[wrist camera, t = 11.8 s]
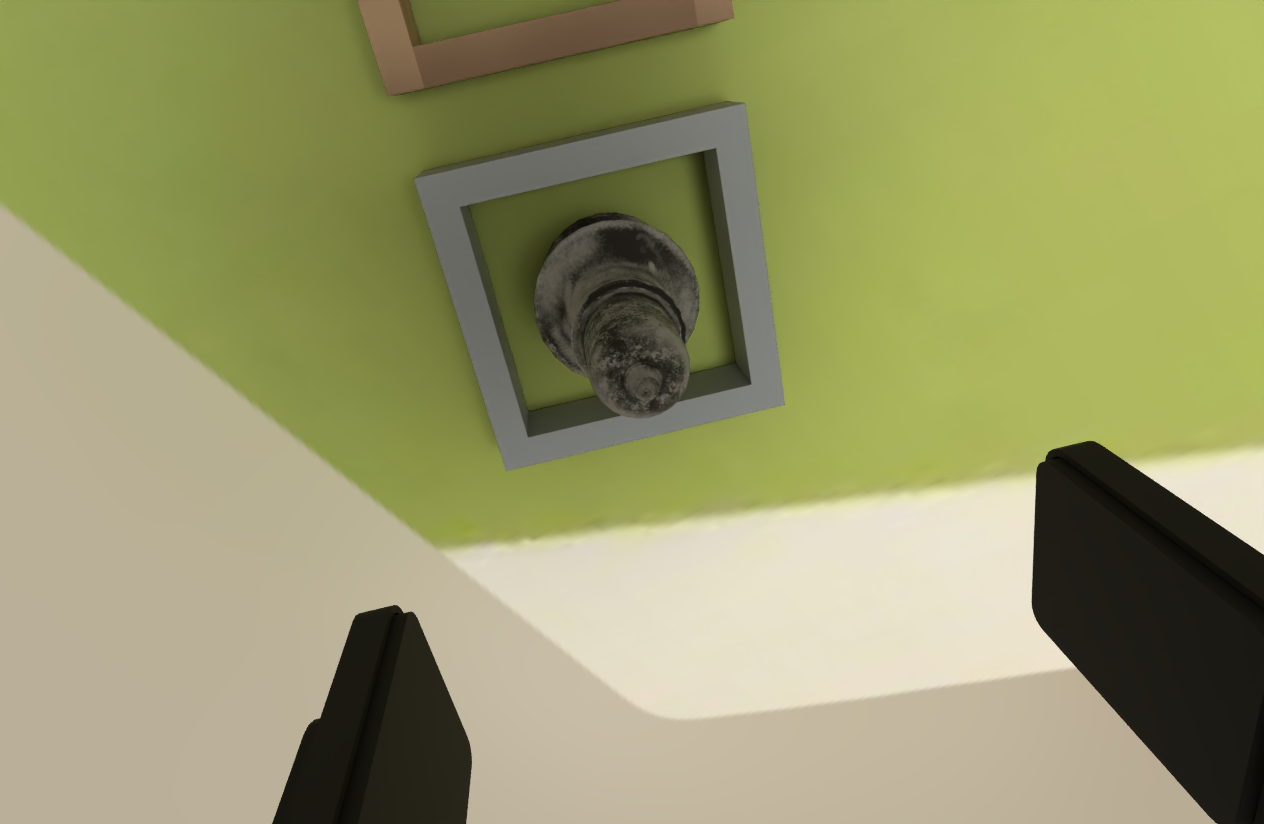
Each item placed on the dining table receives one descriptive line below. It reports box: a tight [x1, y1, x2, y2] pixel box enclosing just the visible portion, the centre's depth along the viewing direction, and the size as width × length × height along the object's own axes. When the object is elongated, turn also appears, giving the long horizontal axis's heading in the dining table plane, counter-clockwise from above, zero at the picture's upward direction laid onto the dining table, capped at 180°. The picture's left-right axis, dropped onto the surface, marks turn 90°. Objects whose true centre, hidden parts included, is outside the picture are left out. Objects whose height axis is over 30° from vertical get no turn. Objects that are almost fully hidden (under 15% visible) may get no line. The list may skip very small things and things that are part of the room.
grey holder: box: [414, 101, 785, 471], centre depth 29 cm, size 11×11×2 cm
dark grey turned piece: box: [534, 213, 699, 419], centre depth 24 cm, size 6×6×12 cm
